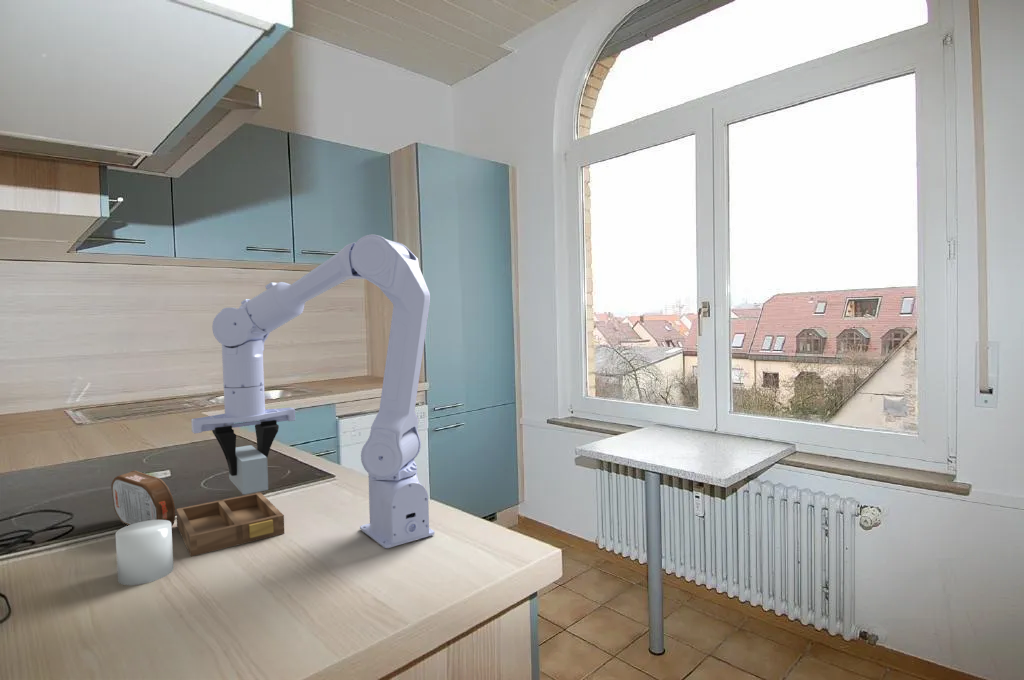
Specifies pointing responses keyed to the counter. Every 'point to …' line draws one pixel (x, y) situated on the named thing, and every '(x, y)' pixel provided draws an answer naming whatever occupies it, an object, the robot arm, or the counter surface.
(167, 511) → the tin
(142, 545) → the white rounded pillar
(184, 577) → the counter surface
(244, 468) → the grey rectangular block
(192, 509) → the tray
